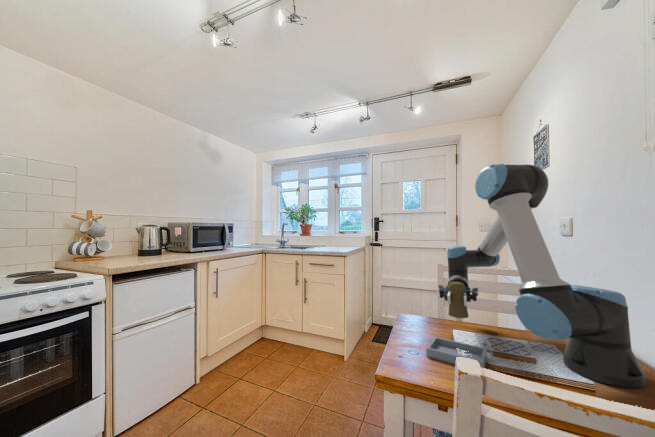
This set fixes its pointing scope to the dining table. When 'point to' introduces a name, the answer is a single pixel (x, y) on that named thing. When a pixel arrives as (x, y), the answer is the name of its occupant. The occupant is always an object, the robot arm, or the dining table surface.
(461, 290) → the cork
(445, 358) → the trough
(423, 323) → the dining table surface
